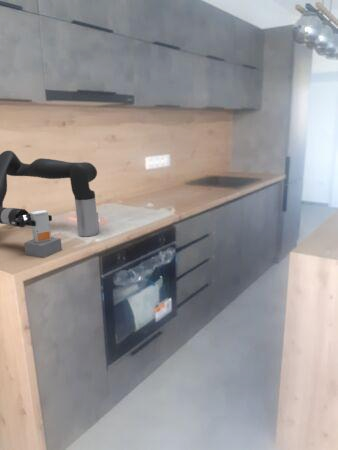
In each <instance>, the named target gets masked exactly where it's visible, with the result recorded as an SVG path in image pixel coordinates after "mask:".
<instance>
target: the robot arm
mask: <svg viewBox="0 0 338 450" xmlns="http://www.w3.org/2000/svg"><path fill="white" fill-rule="evenodd" d="M97 175H98V170H97V168H96V166H94V164H92V163H90V162H86V161H83V162H69V161H65V160H64V161H63V160H58V159H51V158H37V159H35V160H34V161H32V162H31V163H24V162H22V161H21V160H20V159H19V157H18V156H17V155H16V153H15V152H14V151H12V150H5V151H3V152H1V153H0V224H3V225H7V226H12V227H17V228H24V227H32V226H36V221H34V220H31V215H30V212H28V210H26V209H23V208H16V207H4V205H3V203H4V200H5V197H6V194H7V192H8V191H7V190H8V176H10V177H31V178H41V179H47V180H48V179H49V180H55V179H56V180H57V179H58V180H60V179H69V181H70V186H71V191H72V194H73V196H74V204H75V213H76V224H77V225H76V226H77V232H78V233H77V234H78V237H84V238H85V237H86V238H87V237H93V236H96V235H98V234H99V233H100V222H99V213H98V211H97V203H96V193H95V190H91V188H90V183H91V182H93V180H95V179H96V177H97ZM48 217H49V222H51V221H53V217H52V215H50V214H48Z"/></svg>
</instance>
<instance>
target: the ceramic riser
mask: <svg viewBox="0 0 338 450" xmlns="http://www.w3.org/2000/svg"><path fill="white" fill-rule="evenodd" d="M23 245H24V251H25V255H27V256H33V257H37V258H44V259H45V258H46V257H49V256H51V255H53V254H56V253H58V252H60V251H62V250H63V247H62V240H61V238H60V237H54V236H51V240H47V241H42V242H38V243H37V242H35V241H34V238H33V239H30V240H27V241H25V242H23Z"/></svg>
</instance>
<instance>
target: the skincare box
mask: <svg viewBox="0 0 338 450" xmlns="http://www.w3.org/2000/svg"><path fill="white" fill-rule="evenodd" d="M29 213H30V215H31V220H34V221H36V226H31V229H32V237H33V239H34V241H35V242H37V243H38V242H42V241H47V240H51V237H52V236H51V228H50V221H49V217H48V215H49V212H48V210H46V209H42V210H37V211H31V212H29Z"/></svg>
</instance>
